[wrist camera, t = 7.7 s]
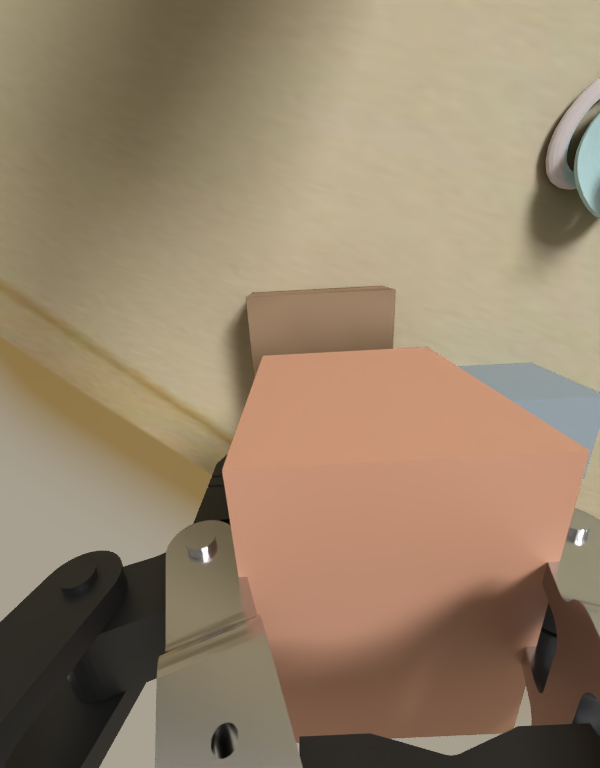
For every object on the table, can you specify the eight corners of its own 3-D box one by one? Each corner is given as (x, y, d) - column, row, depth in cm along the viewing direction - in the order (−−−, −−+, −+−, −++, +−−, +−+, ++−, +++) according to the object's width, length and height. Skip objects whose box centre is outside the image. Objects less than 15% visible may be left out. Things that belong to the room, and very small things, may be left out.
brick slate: (428, 432, 24) (467, 484, 19) (434, 367, 23) (479, 402, 17) (517, 428, 24) (584, 478, 19) (530, 362, 23) (608, 396, 17)
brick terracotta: (262, 355, 10) (222, 470, 5) (427, 346, 10) (589, 451, 5) (278, 525, 12) (264, 744, 7) (413, 518, 12) (512, 732, 7)
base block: (252, 292, 21) (245, 297, 18) (382, 285, 21) (395, 289, 18) (263, 410, 24) (259, 430, 21) (377, 404, 23) (389, 424, 21)
